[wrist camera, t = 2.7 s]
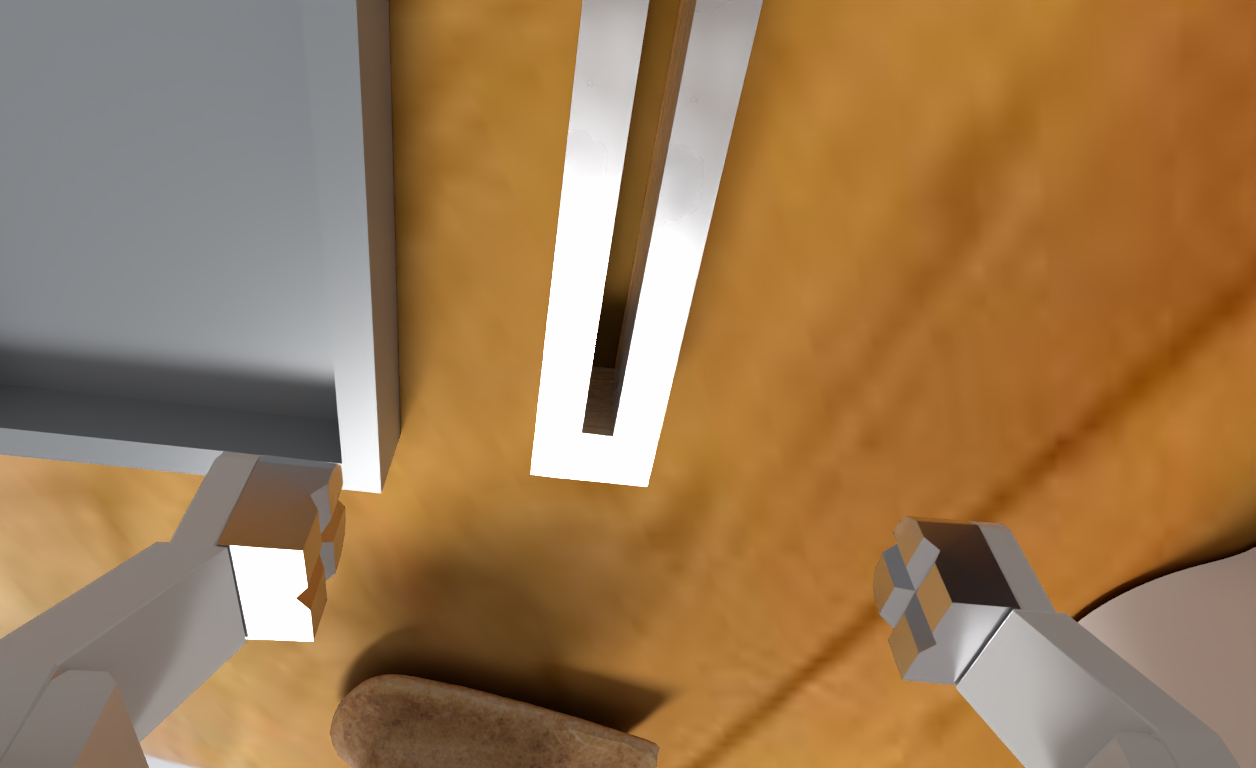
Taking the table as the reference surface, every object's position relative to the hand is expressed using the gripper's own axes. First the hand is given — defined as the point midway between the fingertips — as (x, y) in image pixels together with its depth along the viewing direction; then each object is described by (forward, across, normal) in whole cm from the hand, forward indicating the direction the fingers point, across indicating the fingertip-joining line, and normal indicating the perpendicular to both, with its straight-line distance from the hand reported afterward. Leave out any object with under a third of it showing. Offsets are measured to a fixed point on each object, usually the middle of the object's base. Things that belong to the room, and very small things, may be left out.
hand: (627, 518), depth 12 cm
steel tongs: (+14, -1, 0) cm, 14 cm away
